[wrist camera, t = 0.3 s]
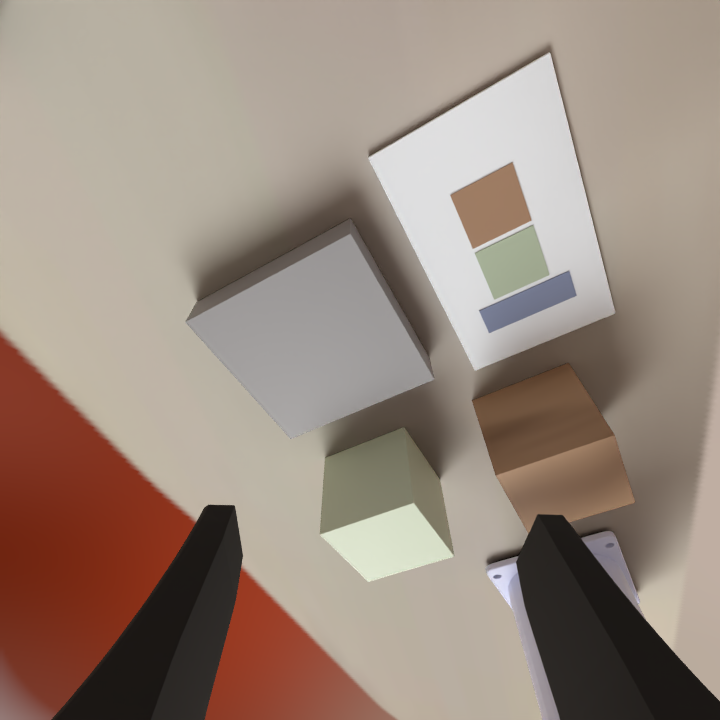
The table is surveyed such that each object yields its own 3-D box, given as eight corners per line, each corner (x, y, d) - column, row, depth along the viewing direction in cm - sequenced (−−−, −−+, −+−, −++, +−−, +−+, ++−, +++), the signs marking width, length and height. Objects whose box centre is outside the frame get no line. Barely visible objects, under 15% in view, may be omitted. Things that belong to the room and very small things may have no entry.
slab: (429, 358, 20) (434, 379, 19) (294, 416, 22) (290, 439, 21) (350, 218, 16) (350, 233, 15) (196, 302, 18) (185, 322, 17)
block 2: (589, 426, 23) (635, 502, 19) (502, 456, 24) (529, 534, 20) (567, 361, 20) (614, 435, 17) (471, 399, 22) (495, 475, 18)
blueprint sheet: (613, 311, 19) (615, 313, 19) (474, 368, 20) (475, 371, 20) (548, 52, 14) (550, 52, 13) (368, 157, 15) (368, 158, 15)
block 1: (439, 478, 25) (454, 556, 21) (366, 504, 26) (368, 582, 23) (403, 425, 23) (413, 503, 19) (325, 456, 24) (319, 534, 20)
